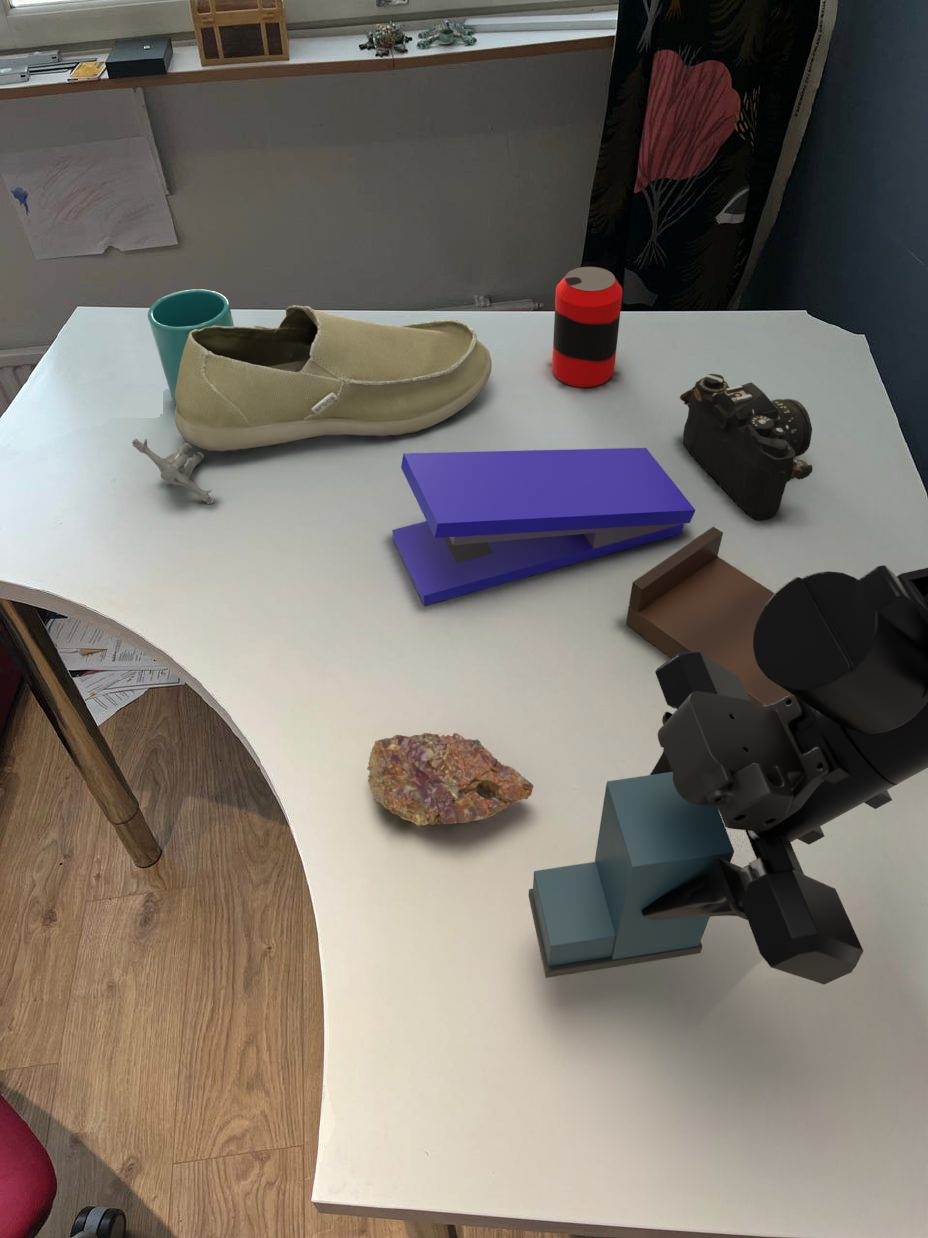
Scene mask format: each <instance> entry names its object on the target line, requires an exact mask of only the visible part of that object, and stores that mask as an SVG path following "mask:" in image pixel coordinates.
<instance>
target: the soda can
mask: <svg viewBox="0 0 928 1238" xmlns="http://www.w3.org/2000/svg"><path fill="white" fill-rule="evenodd" d="M622 300H623V287H622V286H621V284H620V283H619V281H618V280H617V278H616V277H615V275H614V273H612V272H611V271H610V270H608V269H606V268H602V267H597V266H581V267H577V268H574V269H571V270H570V271H568V272H567V273H566V274H565V276H563V278H562V279H561V280H560V281H559V283H557V285H556V288H555V300H554V301H555V302H554V303H555V304H554V321H553V340H552V358H551V370H552V373H553V375H554V376H555V377H556V378H557V379H558V380H559V381H560V382H562V383H563V384H566V385H569V386H572V387H576V388H592V387H597V386H600V385H602V384H604V383H606V382H607V381H608V380H609V379H610V378H612V376H613V375H614V373H615V366H616V357H617V356H616V355H617V348H618V347H617V346H618V339H619V338H618V337H619V330H620V329H619V328H620V320H621V319H620V318H621V311H622Z"/></svg>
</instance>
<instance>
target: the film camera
mask: <svg viewBox="0 0 928 1238" xmlns="http://www.w3.org/2000/svg"><path fill="white" fill-rule="evenodd" d="M679 399H680V400H681V401H682V402H683V405H685V406H687V408H688V412H687V418H686V420H685V423H684V427H683V432H682V434H683V435H682V444H683V445H684V446H686V447H687V450H688V452H689V454H690V455H692V458H693V459H695V460H696V461H697V462H698V463H699V464H700V465H701V467H702V468H703V469H704V470H706V472H707V473H708V474H709V475H710V476H711V477H712V479H713V480H714V481H715V482H716V483H717V484H718V485H719V486H720V487H721V488H722V489H723V490H724V491H725V492H726V493H727V494H728V495H729V496H730V497H731V498H732V500H733V501H734V502H735V503H736V504H737V505H738V506H739V507H740V508H741V509H742V510H743V511H744V512H745V513H746V514H748V515H749V516H750V517H752V518H754V519H755V520H758V521H759V520H768V519H770V518H772V517H775V516H776V515H777V514H778V512H779V510H780V507H781V504H782V500H783V497H784V493H785V490H786V485H787V484H788V482H789V481H792V480H794V479H796V480H798V481H799V480H803V479H805V478H807V477H809V476H811V475H810V474H811V473H812V472H813V465H812V464H808V463H807V461H805V460H803V459H799V458H798V459H795V458H797V457H800V456H802V455H804V454H805V453H807V451H808V450H809V449H810V445H811V440H812V435H813V427H812V423H811V418H810V415H809V412H808V409H806V407H805V406H804V405H803V404H802V403H801V402H800V401H799V400H796V399H793V398H785V399H782V398H778V399H772V400H771V399H770V398H769V397H768V396H767V395H766V394H765V392H764V391H763V390H762V389H760V388H759V387H758V386H757V385H756V384H754V383H753V382H748V383H745V384H741V385H736V386H729V383H728V382H727V381H725V378H724V376H722V375H721V374H719V373H709V374H707V375H705V376H704V377H701V378H700V379H699V380H697V381H695V384H694V386H693V387H692V388H690V389H689V390H687V391H685V392H684V393H682V394H681V395H680V396H679ZM798 461H799V462H800V463H801V464H802V465H800V464H799V463H798Z"/></svg>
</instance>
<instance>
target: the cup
mask: <svg viewBox="0 0 928 1238" xmlns="http://www.w3.org/2000/svg"><path fill="white" fill-rule="evenodd" d="M147 320H148V322H149V327H150V329H151V333H152V336H153V340H154V342H155V343H154V344H155V347H156V349H157V352H158V353H157V354H158V356H159V360H160V363H161V366H162V369H163V373H164V376H165V380H166V384H167V387H168V389H169V390H168V391H169V393H170V396H171V400H172V401H173V403H174V404H175V405H176V404H177V403H176V399H175V389H176V385H177V379H178V373H179V368H180V363H181V358H182V355H183V351H184V348H185V345H186V342H187V339H188V336H189V333H190V332H191V331H192V330H195V329H197V330H200V329H202V328H204V327H210V326H213V325H215V326H228V327H231V326H233V327H235V323H234V319H233V315H232V311H231V306H230V303H229V300H228V298H227V297H226V296H224V295H223V294H221V293H219V292H216V291H214V290H209V289H208V290H207V289H187V290H181V291H177V292H173V293H170V294H167V295H165V296H163V297H161V298H159V299H158V300H157V301H155V302H154V303H153V304H152V305H151V306H150V307H149V309H148V312H147Z"/></svg>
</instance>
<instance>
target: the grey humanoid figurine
mask: <svg viewBox="0 0 928 1238" xmlns="http://www.w3.org/2000/svg"><path fill="white" fill-rule="evenodd" d="M131 444H132V447H134V448H135V449H136V450H137V451H138V452H140V453H141V454H144V455H146V456H147V457H148V458H149V459H150V460H151V461H152V462H153V463H154V464H155V465H156V466H157V468H158V470H159V472H160V478H161V479H162V480H163V481H164V482H165V483H167V484H173V485H174V484H175V485H176V486H177V485H178V486H182V487H184V488H186V489H187V490H188V491H191V492H192V493H194V494H195V495H197V497H198V498H199V499H200V500H201V501H203V502H204V503H207V504H208V505H210V504H213V503H214V500H215V498H213V497H211V495H209V493H211V492H212V489H208V490H204V489H201V488H200V487H199V486H197V484H195V482H194V481H193V480H192V479H190V477H191V475H192V473H193V470H194V468H195V467H196V466H197V465H199V464H201V463H202V461H203V460H204V456H205V455H204V453H203V452H202V451H198V452H195V453H194V454H193V455H192V457H187V455H188V454H189V453H190V452H191V450H192V445H191V443H190V442H184V443H183V444H181V446H180V448H179V449H178V450H177V451H175V452H174V453H171V454H169V455H167V456H166V457H165V458H164V457H161V456H159V455H158V454H156V453H155V452H154V451H152V449H150V448H149V446H148V439H147V438H145V439H144V441H143V443H142V442H141V441H140V440H138V439H137V438H134V439H133V440H132V442H131Z"/></svg>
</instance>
